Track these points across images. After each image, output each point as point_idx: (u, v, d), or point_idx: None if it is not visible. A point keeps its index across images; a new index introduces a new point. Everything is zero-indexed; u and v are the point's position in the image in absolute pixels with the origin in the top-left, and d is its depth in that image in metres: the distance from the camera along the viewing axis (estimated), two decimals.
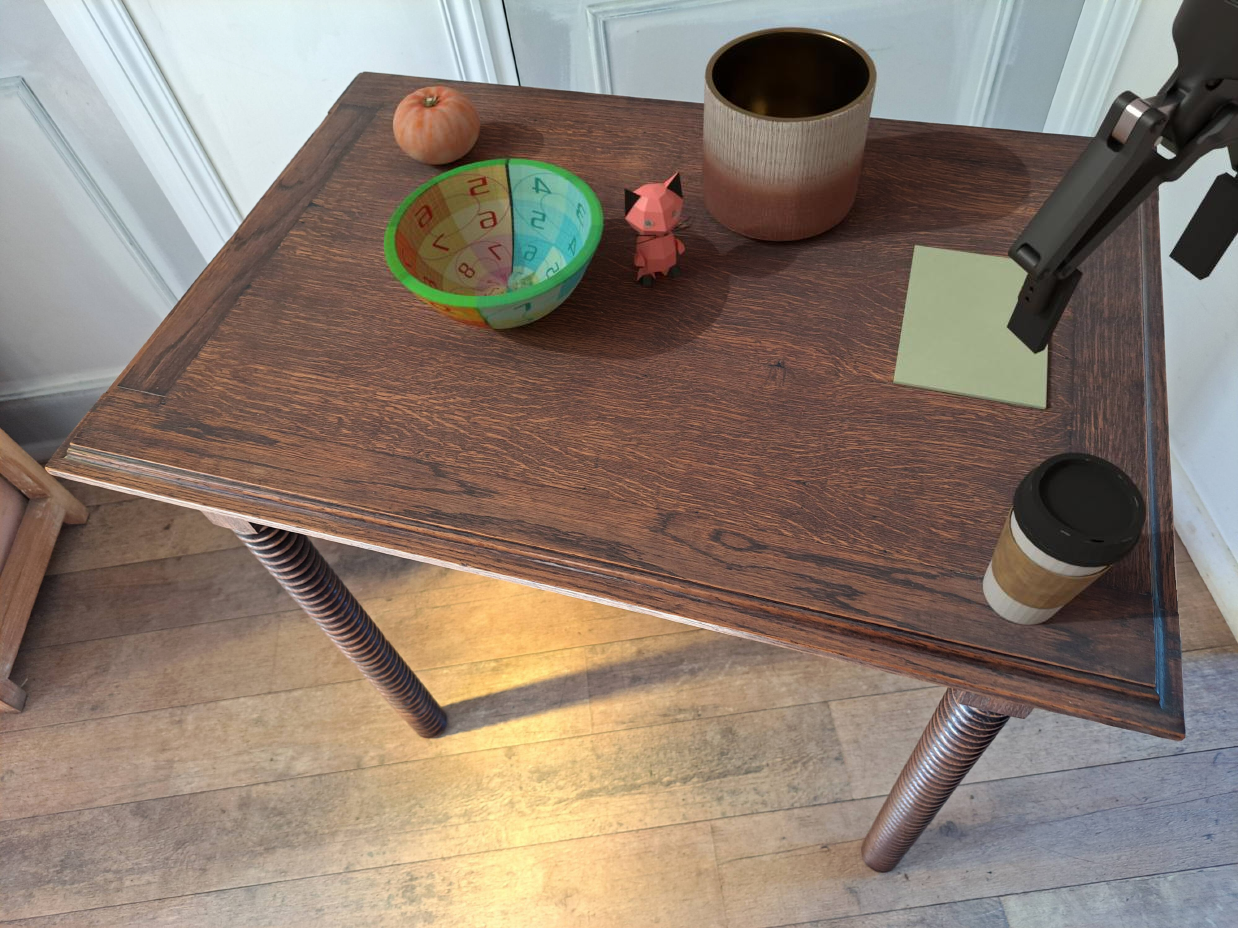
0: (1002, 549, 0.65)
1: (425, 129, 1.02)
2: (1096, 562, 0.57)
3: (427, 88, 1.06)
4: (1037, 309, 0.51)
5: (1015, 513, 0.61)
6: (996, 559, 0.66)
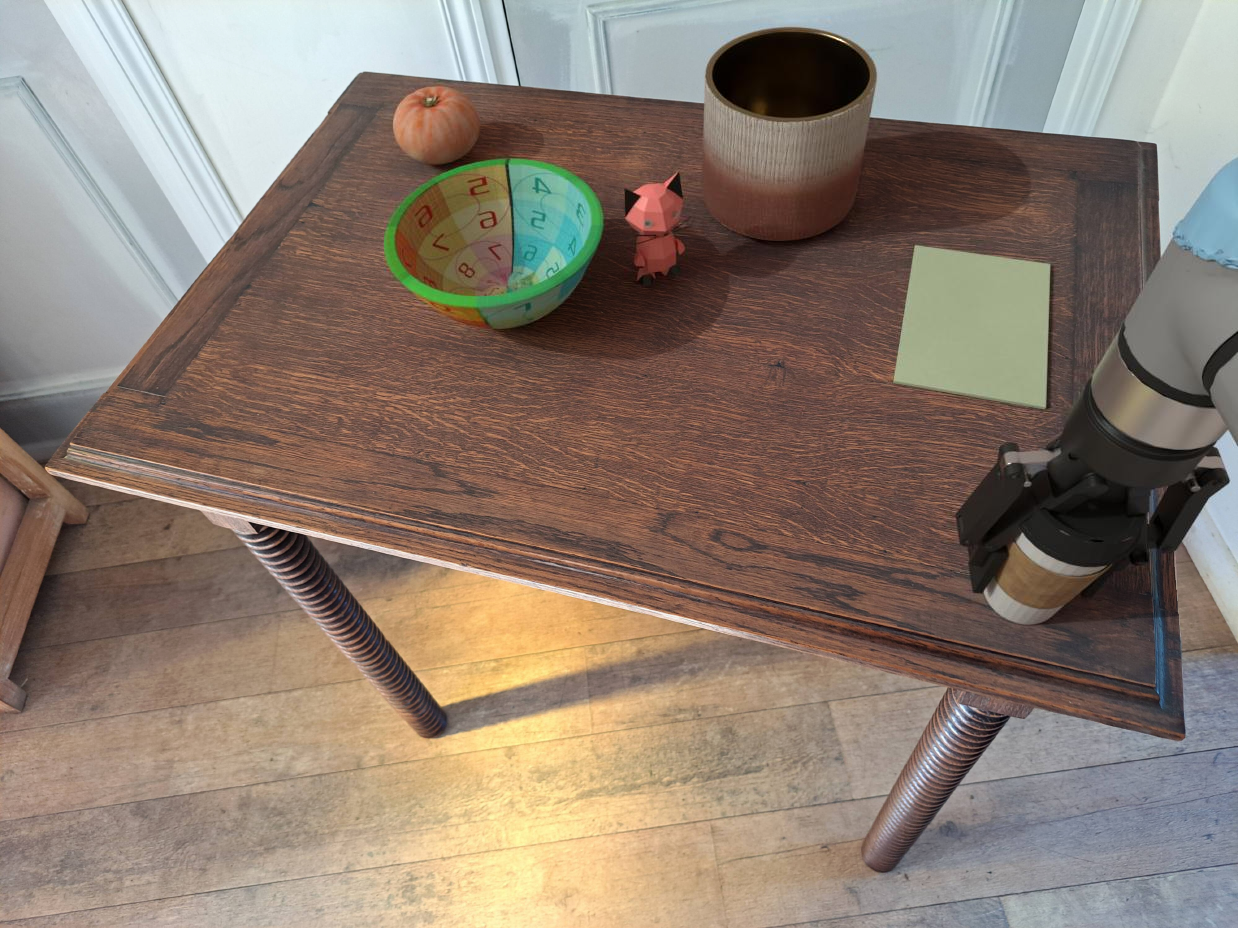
0: None
1: (425, 129, 1.02)
2: (1095, 562, 0.57)
3: (427, 88, 1.06)
4: (973, 562, 0.66)
5: None
6: None
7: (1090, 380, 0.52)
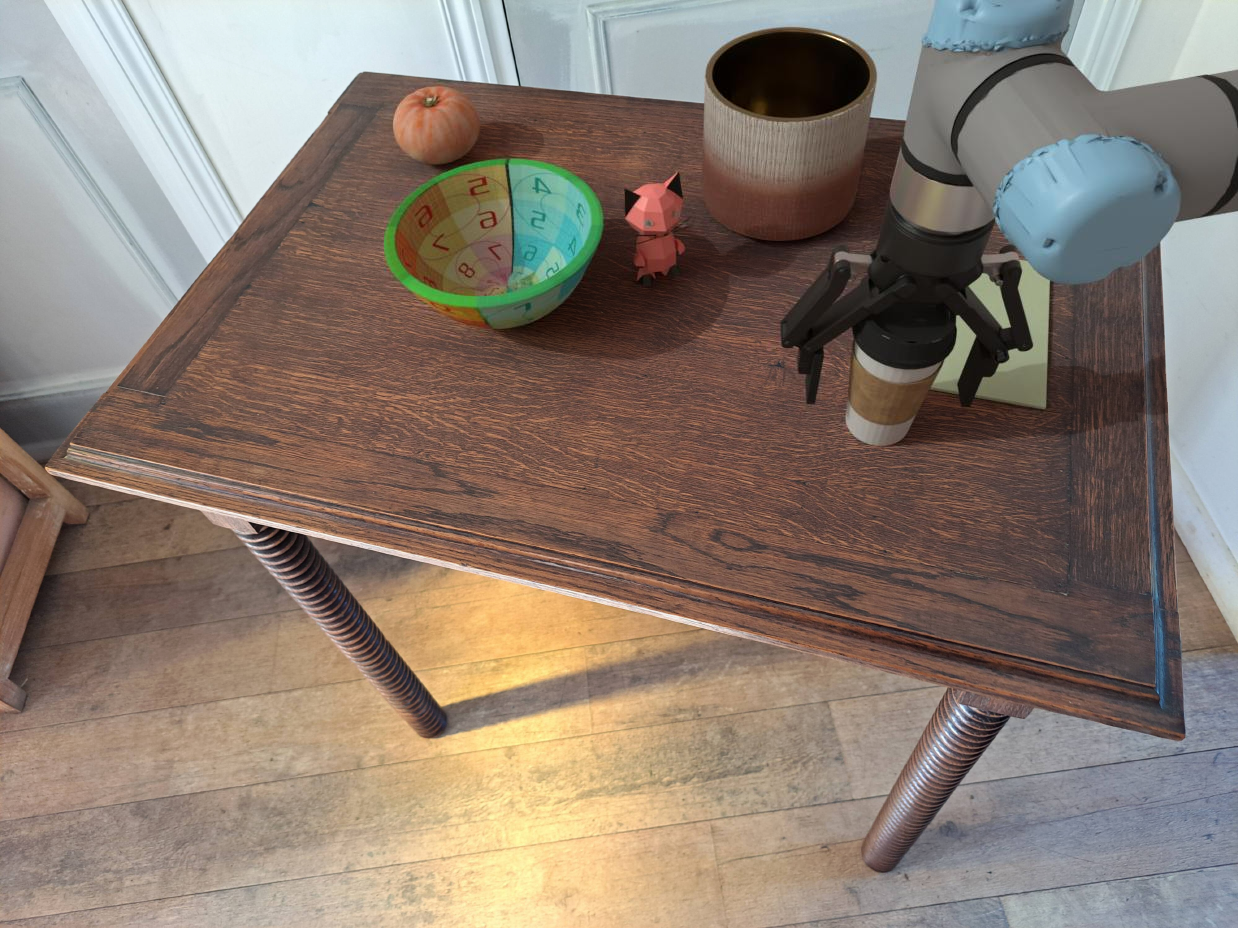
0: (850, 371, 0.75)
1: (425, 129, 1.02)
2: (913, 363, 0.68)
3: (427, 88, 1.06)
4: (801, 370, 0.75)
5: (853, 331, 0.71)
6: (849, 384, 0.77)
7: None
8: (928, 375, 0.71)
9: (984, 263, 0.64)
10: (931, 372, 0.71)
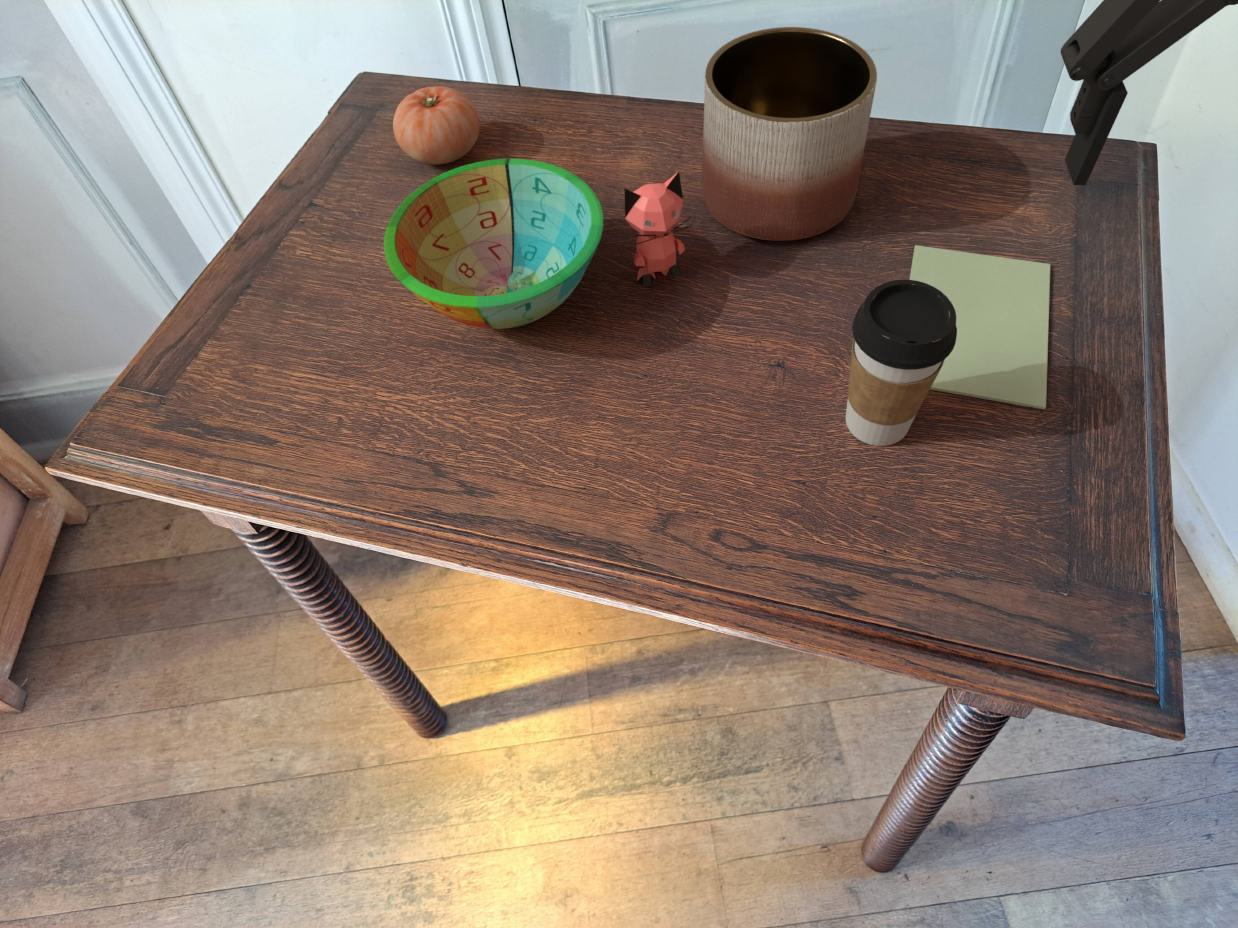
0: (850, 371, 0.75)
1: (425, 129, 1.02)
2: (913, 363, 0.68)
3: (427, 88, 1.06)
4: (1080, 127, 0.53)
5: (853, 331, 0.71)
6: (849, 384, 0.77)
7: None
8: (928, 375, 0.71)
9: None
10: (931, 372, 0.71)
